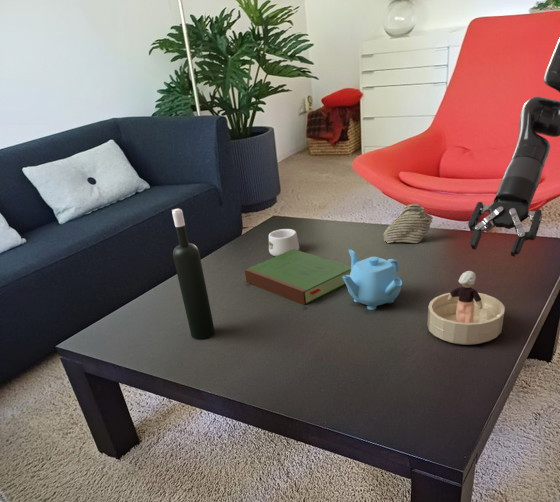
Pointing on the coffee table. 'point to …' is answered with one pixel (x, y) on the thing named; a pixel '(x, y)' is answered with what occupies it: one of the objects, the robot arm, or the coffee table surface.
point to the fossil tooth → (409, 225)
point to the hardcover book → (298, 276)
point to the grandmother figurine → (466, 298)
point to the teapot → (373, 280)
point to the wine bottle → (192, 282)
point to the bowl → (465, 333)
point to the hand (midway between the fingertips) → (492, 251)
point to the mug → (282, 241)
